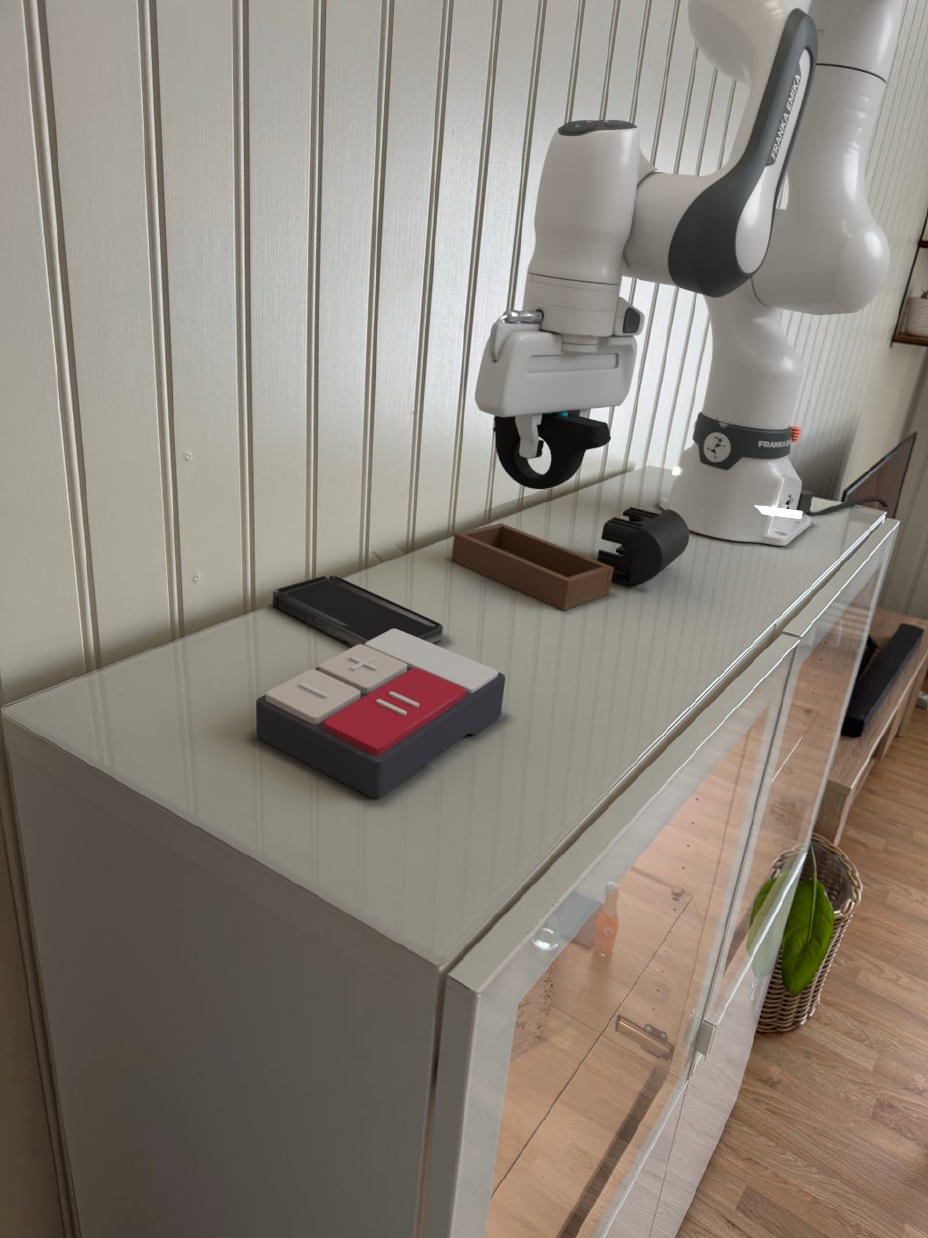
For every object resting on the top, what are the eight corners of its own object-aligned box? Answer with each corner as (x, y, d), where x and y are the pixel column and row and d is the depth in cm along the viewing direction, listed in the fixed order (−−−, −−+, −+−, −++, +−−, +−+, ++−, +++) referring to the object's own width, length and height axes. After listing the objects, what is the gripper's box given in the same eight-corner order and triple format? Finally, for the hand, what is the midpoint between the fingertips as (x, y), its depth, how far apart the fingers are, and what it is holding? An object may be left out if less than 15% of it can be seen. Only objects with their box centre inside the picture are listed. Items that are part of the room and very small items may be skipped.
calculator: (252, 690, 62) (393, 618, 74) (253, 743, 64) (390, 666, 76) (378, 753, 57) (509, 665, 68) (375, 809, 59) (503, 715, 70)
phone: (331, 573, 90) (448, 626, 81) (330, 584, 90) (446, 638, 82) (266, 591, 84) (385, 650, 76) (266, 603, 84) (384, 663, 76)
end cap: (654, 596, 98) (667, 535, 95) (592, 578, 100) (603, 518, 98) (682, 571, 106) (695, 514, 103) (623, 555, 109) (634, 499, 106)
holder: (497, 548, 106) (501, 522, 105) (608, 595, 96) (614, 567, 95) (451, 560, 100) (454, 533, 99) (563, 610, 91) (568, 581, 90)
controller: (500, 471, 99) (513, 376, 95) (604, 500, 93) (622, 400, 89) (478, 477, 96) (491, 379, 92) (584, 508, 90) (603, 405, 86)
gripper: (523, 314, 78) (501, 473, 84) (655, 316, 93) (629, 453, 98) (469, 303, 82) (452, 456, 88) (604, 307, 96) (582, 438, 102)
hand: (546, 454), depth 93 cm, fingers closed on controller, 4 cm apart
